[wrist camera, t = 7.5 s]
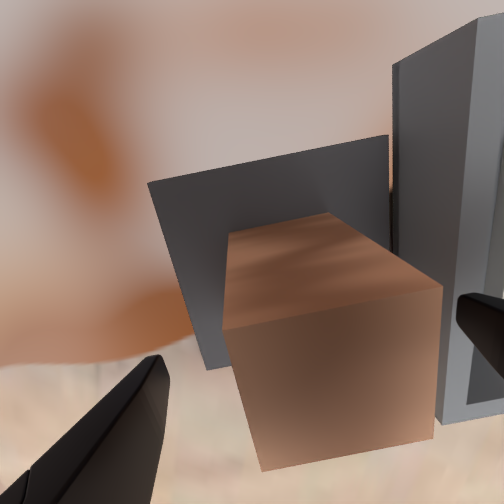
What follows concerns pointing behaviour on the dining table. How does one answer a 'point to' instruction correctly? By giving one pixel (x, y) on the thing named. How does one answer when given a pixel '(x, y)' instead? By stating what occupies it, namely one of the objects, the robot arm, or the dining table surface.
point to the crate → (454, 194)
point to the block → (329, 341)
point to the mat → (263, 216)
